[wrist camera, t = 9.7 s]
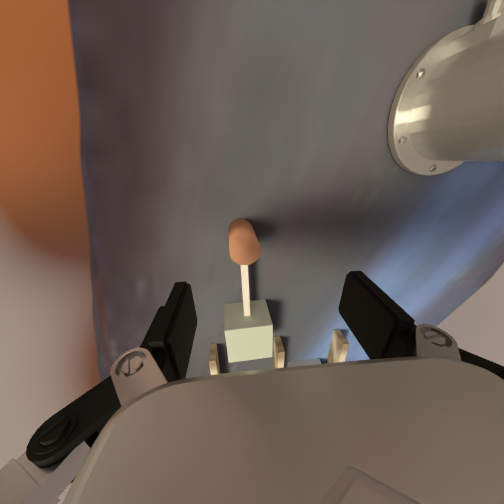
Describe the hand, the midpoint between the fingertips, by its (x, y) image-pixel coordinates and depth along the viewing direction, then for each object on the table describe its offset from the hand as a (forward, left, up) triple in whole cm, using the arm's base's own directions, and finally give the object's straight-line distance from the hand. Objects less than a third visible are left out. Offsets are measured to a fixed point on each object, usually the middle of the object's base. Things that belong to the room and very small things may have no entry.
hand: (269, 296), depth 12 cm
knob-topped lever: (+8, -1, -14) cm, 16 cm away
